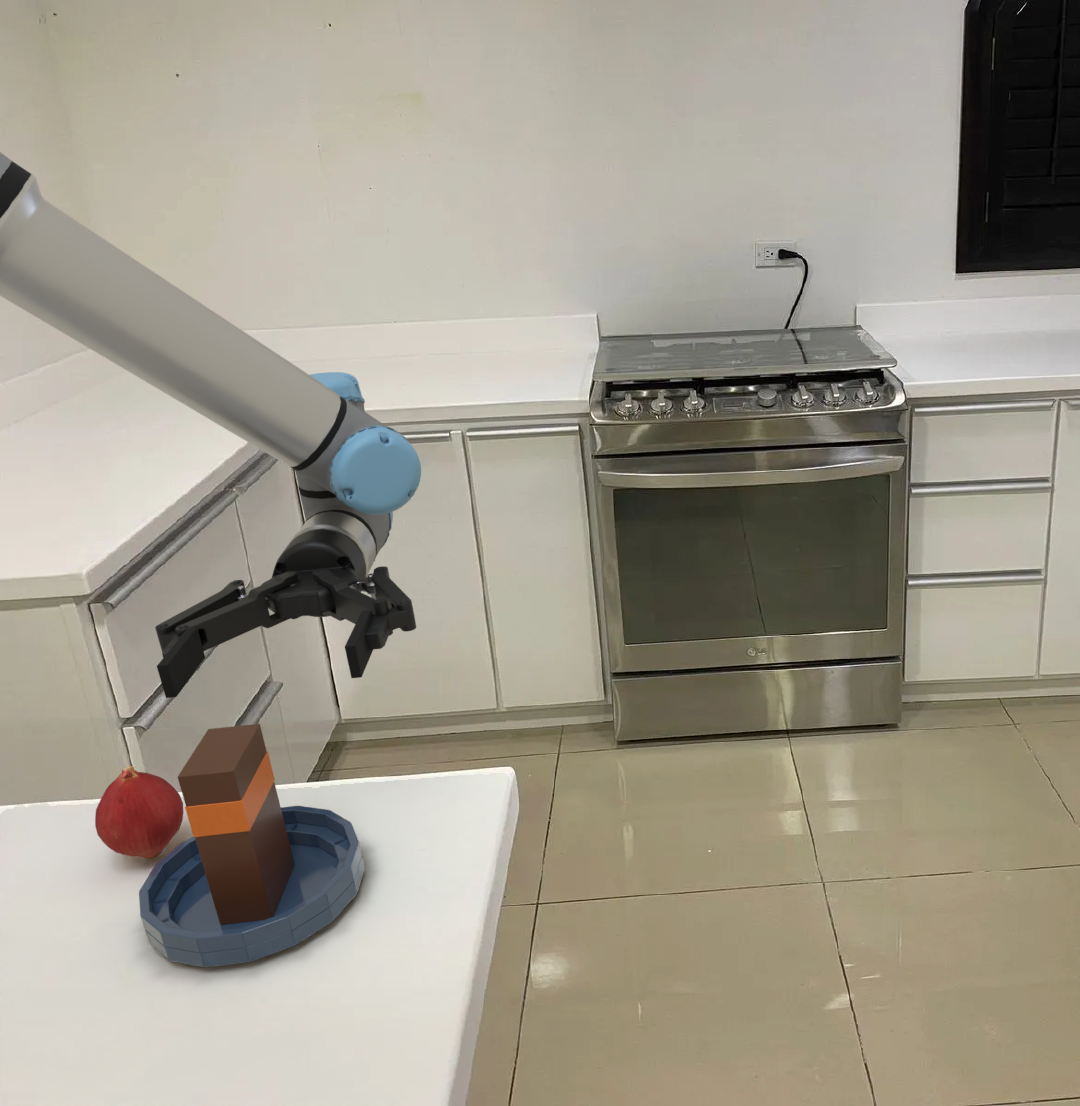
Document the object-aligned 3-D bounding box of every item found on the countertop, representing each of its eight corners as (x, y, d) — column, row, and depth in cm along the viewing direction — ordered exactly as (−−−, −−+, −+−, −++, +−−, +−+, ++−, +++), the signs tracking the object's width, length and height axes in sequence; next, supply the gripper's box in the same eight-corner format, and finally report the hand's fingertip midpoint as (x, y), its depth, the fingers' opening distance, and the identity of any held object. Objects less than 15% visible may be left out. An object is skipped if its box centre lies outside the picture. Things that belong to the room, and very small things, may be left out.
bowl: (116, 986, 70) (103, 949, 69) (192, 850, 83) (182, 818, 82) (341, 958, 71) (332, 922, 70) (380, 829, 84) (374, 796, 83)
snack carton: (218, 926, 74) (175, 777, 69) (245, 869, 79) (207, 728, 75) (273, 919, 74) (233, 771, 70) (296, 863, 80) (260, 722, 75)
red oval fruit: (91, 872, 81) (61, 782, 78) (154, 827, 86) (127, 740, 83) (150, 886, 79) (121, 794, 76) (210, 839, 84) (185, 751, 81)
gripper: (467, 588, 103) (437, 697, 84) (197, 615, 101) (101, 733, 81) (455, 514, 100) (421, 609, 81) (176, 540, 98) (72, 644, 78)
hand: (260, 672), depth 81 cm, fingers open, 13 cm apart
